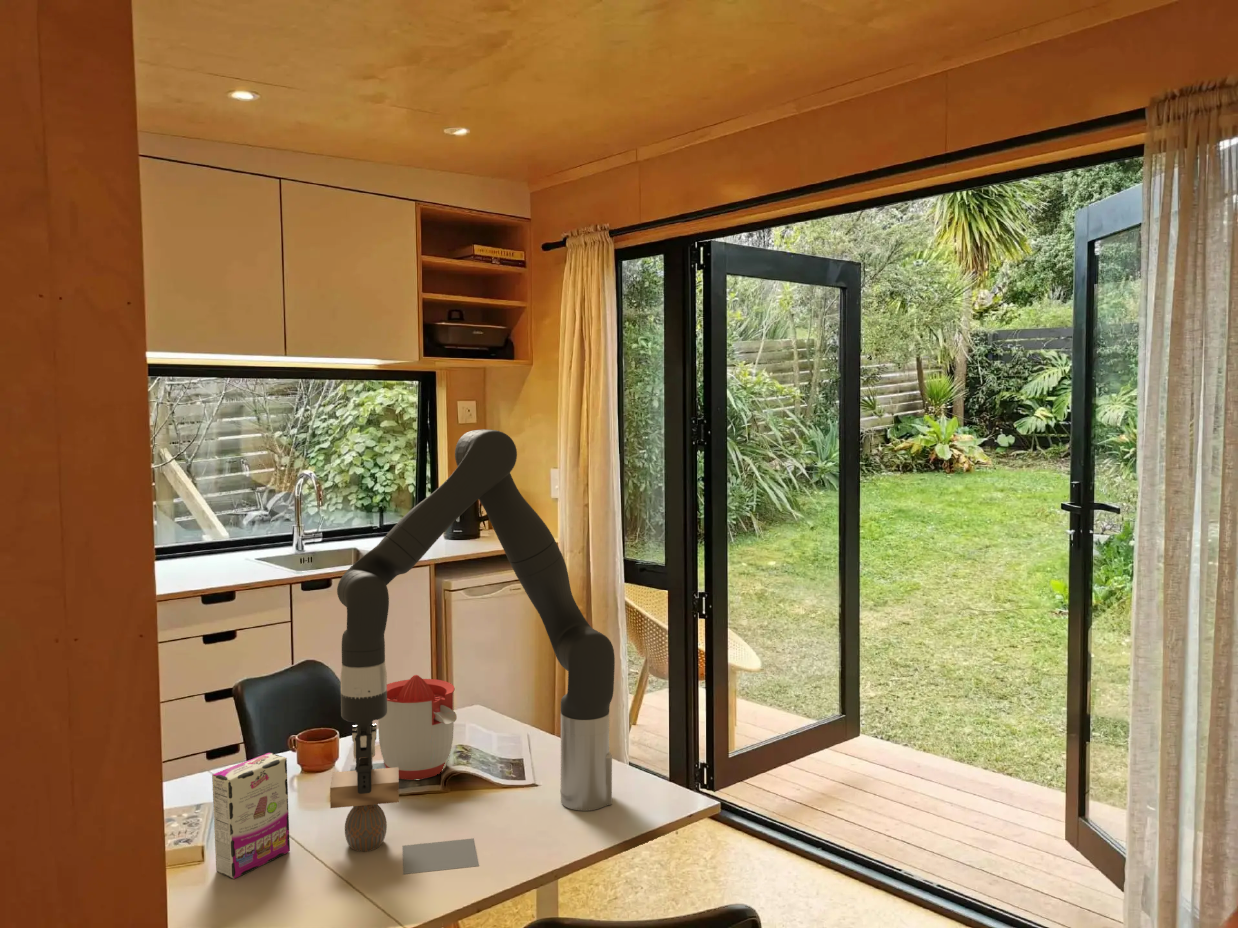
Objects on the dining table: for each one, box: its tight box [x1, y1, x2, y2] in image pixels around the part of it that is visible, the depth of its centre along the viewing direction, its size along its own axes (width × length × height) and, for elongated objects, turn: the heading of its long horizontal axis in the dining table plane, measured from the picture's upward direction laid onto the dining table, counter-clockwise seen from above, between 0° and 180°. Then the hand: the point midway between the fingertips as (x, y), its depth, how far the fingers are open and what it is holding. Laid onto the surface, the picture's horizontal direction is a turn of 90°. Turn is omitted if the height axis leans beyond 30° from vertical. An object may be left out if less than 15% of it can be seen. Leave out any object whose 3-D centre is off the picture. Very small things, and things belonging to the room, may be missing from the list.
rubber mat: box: [402, 837, 480, 875], centre depth 158 cm, size 12×10×1 cm
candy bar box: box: [211, 752, 291, 880], centre depth 156 cm, size 11×5×16 cm, turn 148°
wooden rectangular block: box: [329, 767, 400, 809], centre depth 161 cm, size 11×6×4 cm, turn 103°
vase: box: [344, 804, 388, 852], centre depth 162 cm, size 7×7×9 cm
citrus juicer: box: [377, 674, 457, 781], centre depth 195 cm, size 16×17×20 cm
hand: (365, 782), depth 161 cm, fingers open, 8 cm apart
